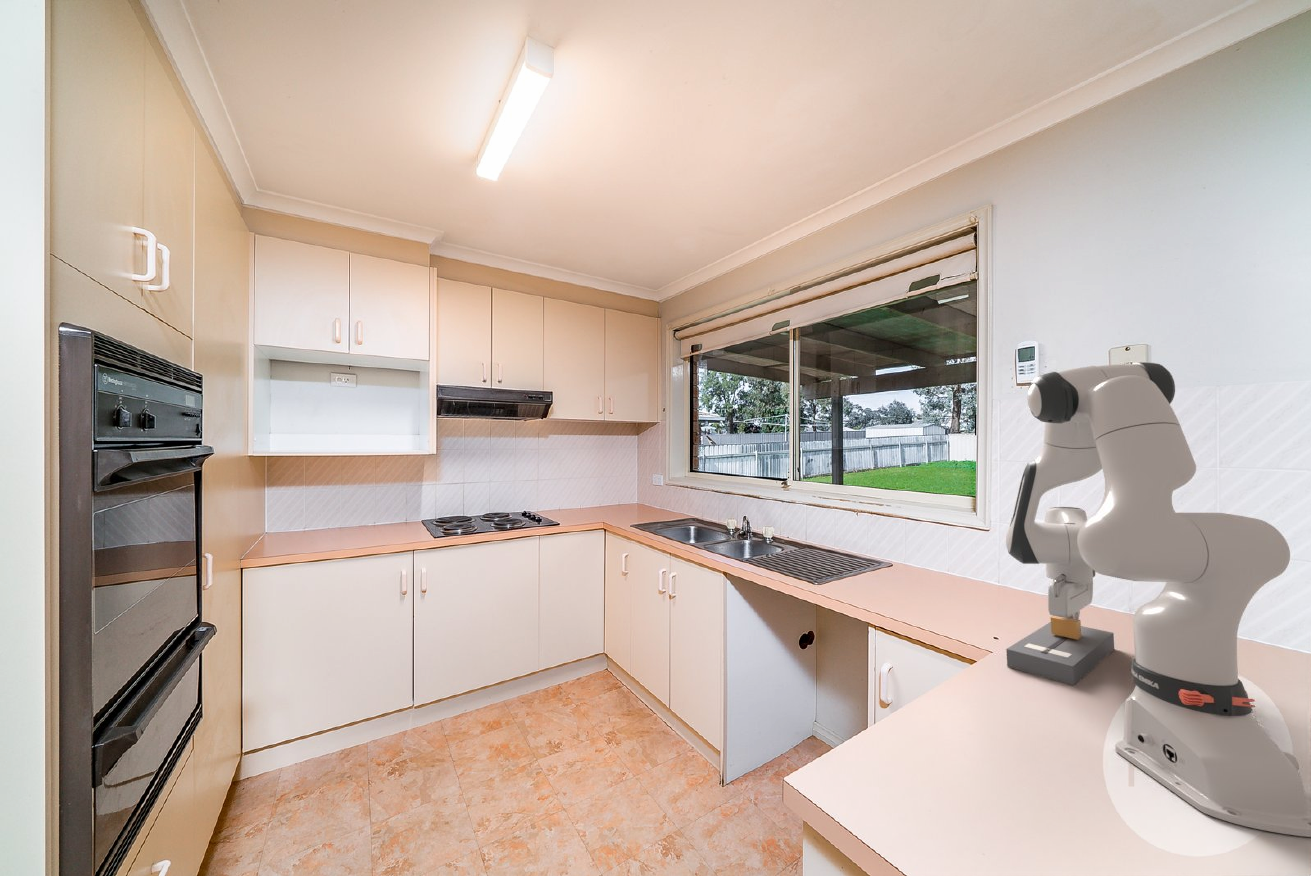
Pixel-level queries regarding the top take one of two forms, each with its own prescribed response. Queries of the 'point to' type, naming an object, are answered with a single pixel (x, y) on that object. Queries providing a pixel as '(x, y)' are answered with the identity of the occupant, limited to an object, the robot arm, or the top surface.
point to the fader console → (1060, 653)
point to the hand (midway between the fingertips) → (1072, 628)
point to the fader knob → (1066, 627)
